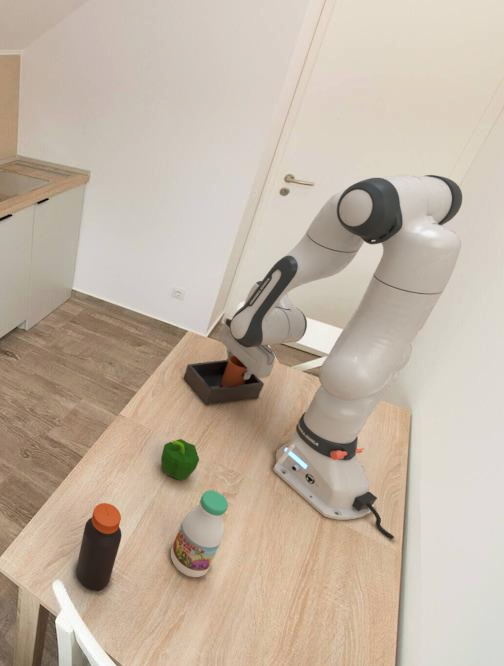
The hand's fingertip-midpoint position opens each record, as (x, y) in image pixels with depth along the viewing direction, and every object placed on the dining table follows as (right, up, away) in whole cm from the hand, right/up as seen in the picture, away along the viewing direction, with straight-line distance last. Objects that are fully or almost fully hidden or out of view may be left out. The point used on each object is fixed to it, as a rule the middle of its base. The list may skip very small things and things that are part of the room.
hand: (237, 370), depth 143 cm
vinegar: (-53, -38, -47) cm, 80 cm away
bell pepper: (-28, -24, -25) cm, 44 cm away
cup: (0, -5, +3) cm, 6 cm away
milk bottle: (-32, -37, -44) cm, 66 cm away
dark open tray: (-4, -6, +3) cm, 7 cm away
